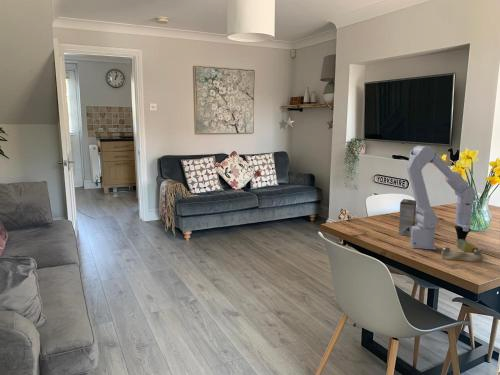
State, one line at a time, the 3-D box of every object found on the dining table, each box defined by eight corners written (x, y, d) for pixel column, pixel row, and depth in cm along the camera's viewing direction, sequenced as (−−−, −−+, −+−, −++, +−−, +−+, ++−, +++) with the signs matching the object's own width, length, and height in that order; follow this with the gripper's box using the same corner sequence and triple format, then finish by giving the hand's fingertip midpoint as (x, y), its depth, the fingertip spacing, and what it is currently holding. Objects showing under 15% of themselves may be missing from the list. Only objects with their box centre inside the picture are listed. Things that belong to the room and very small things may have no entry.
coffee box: (401, 230, 196) (403, 198, 194) (414, 231, 193) (417, 200, 190) (397, 234, 188) (399, 202, 186) (412, 236, 185) (414, 203, 183)
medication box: (456, 247, 169) (457, 238, 168) (463, 247, 168) (463, 238, 168) (471, 257, 157) (472, 247, 156) (478, 256, 157) (479, 247, 156)
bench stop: (442, 258, 155) (442, 252, 155) (441, 256, 158) (441, 250, 157) (481, 261, 151) (482, 255, 151) (480, 259, 153) (480, 253, 153)
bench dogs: (443, 258, 155) (443, 248, 155) (442, 256, 157) (442, 246, 157) (481, 261, 151) (481, 251, 150) (479, 259, 153) (480, 250, 153)
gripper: (478, 217, 159) (475, 248, 161) (470, 209, 173) (467, 239, 175) (459, 216, 161) (456, 247, 163) (452, 208, 175) (450, 237, 177)
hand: (460, 243), depth 169 cm, fingers closed
